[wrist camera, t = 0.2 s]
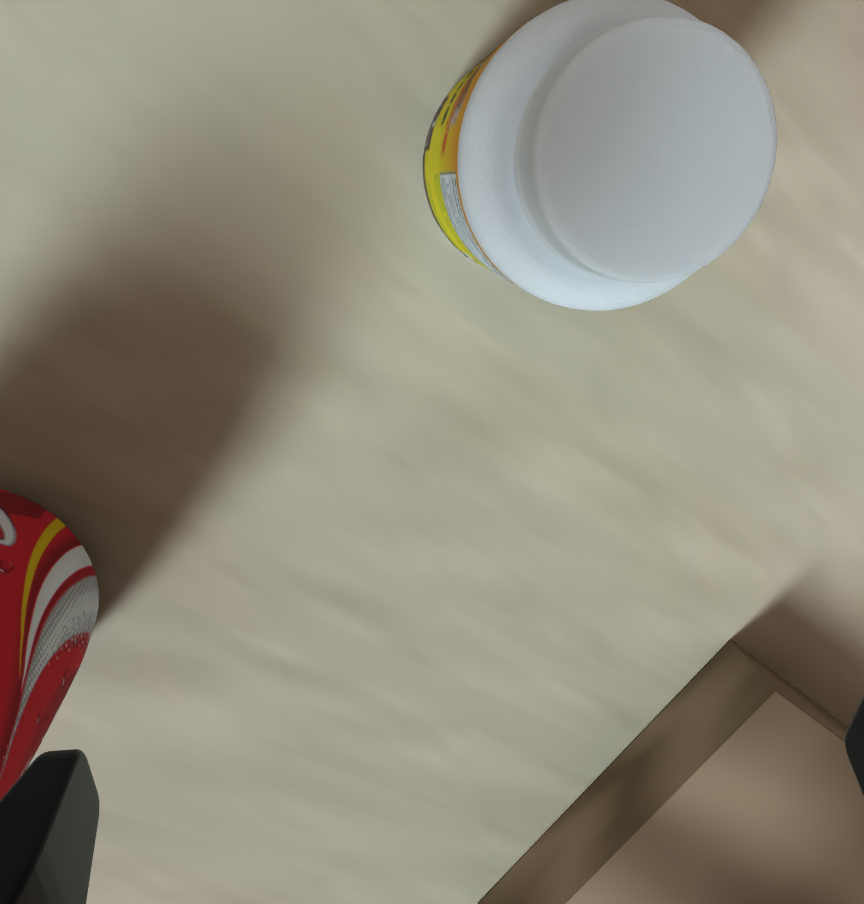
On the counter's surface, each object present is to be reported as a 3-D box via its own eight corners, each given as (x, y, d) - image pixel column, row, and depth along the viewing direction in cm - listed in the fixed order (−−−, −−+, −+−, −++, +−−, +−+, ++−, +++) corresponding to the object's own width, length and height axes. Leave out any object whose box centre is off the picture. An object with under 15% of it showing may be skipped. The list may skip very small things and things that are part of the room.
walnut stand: (723, 1035, 34) (758, 1111, 31) (477, 904, 30) (491, 978, 27) (964, 814, 32) (1026, 875, 29) (730, 640, 28) (775, 691, 25)
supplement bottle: (571, 18, 21) (772, -125, 11) (644, 216, 23) (870, 238, 13) (381, 117, 21) (421, 60, 12) (469, 304, 23) (567, 391, 13)
